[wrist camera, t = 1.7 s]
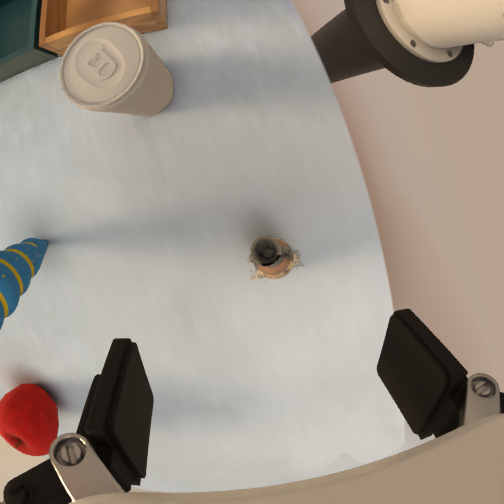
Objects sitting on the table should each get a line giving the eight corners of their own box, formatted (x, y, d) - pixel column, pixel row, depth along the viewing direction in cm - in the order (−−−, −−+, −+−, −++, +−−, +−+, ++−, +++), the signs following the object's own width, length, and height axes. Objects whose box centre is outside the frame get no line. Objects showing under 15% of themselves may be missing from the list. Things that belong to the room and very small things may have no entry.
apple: (63, 422, 36) (47, 475, 26) (12, 393, 33) (-11, 443, 23) (73, 391, 34) (52, 453, 24) (15, 358, 31) (-17, 413, 21)
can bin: (63, -25, 15) (44, -41, 11) (57, 57, 19) (33, 48, 15) (-11, 13, 14) (-34, 5, 10) (-17, 91, 18) (-44, 91, 14)
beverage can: (150, 53, 21) (107, 3, 10) (187, 88, 23) (168, 57, 12) (109, 92, 22) (41, 73, 11) (145, 128, 23) (94, 130, 12)
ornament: (64, 270, 27) (-9, 368, 13) (25, 259, 26) (-56, 344, 12) (66, 222, 25) (-26, 305, 12) (25, 213, 24) (-73, 282, 11)
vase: (228, 227, 28) (233, 253, 22) (285, 207, 28) (304, 228, 22) (248, 277, 30) (256, 312, 24) (301, 258, 30) (320, 288, 24)
